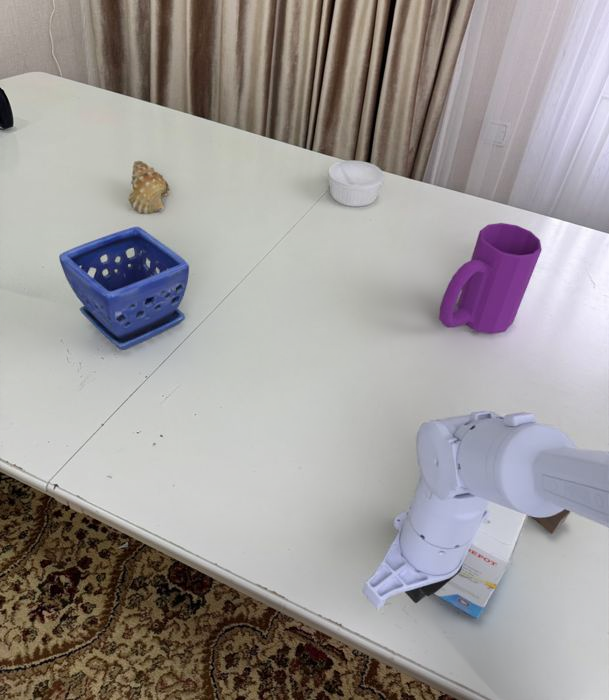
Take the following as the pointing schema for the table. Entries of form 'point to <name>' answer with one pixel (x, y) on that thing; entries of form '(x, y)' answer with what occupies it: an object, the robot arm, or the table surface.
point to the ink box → (485, 560)
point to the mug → (492, 280)
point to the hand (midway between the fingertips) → (411, 592)
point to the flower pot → (128, 285)
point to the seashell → (147, 189)
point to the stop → (553, 521)
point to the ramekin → (355, 182)
